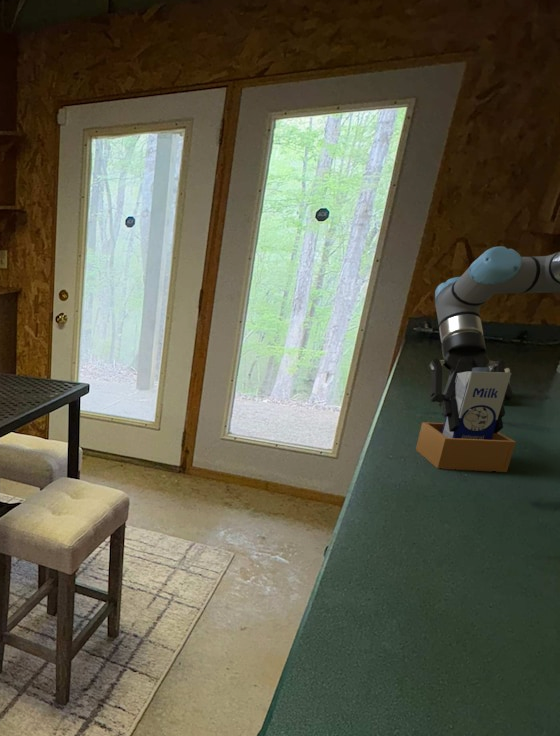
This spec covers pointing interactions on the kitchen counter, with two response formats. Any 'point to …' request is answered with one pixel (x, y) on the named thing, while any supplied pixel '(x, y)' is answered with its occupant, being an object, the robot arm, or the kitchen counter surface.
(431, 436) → the bin
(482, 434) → the milk carton
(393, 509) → the kitchen counter surface
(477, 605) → the kitchen counter surface
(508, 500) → the kitchen counter surface
